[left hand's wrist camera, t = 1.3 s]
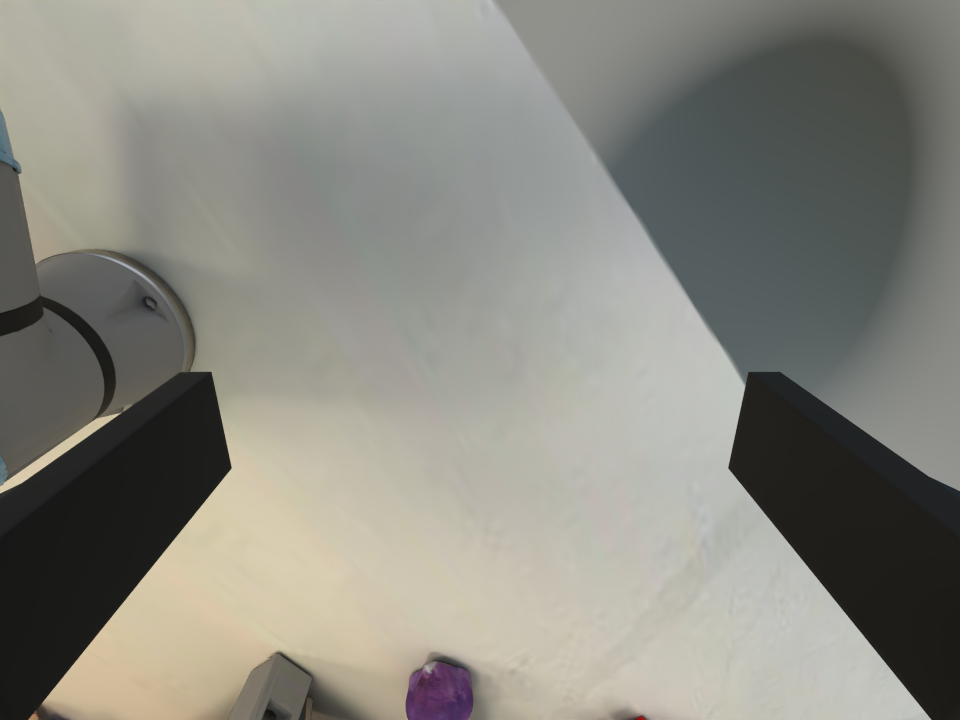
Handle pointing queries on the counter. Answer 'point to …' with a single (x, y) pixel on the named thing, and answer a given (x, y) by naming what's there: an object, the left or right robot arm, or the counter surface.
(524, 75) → the counter surface
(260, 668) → the grey record storage rack
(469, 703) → the figurine
